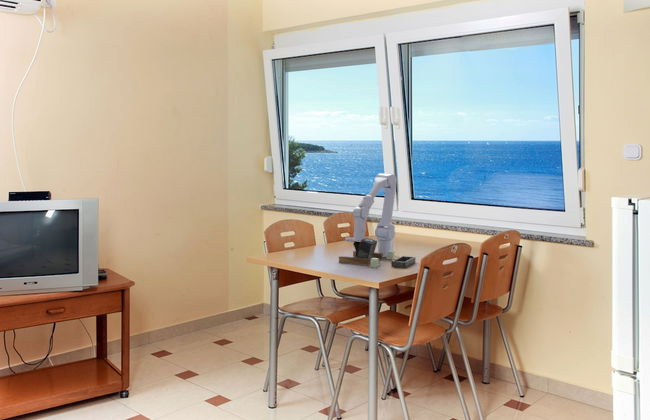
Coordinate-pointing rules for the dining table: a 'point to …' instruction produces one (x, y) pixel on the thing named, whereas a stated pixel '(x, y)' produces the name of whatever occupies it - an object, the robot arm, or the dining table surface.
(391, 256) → the sage goal posts
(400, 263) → the black pit tray
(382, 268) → the dining table surface
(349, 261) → the walnut tunnel rails
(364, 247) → the small box
